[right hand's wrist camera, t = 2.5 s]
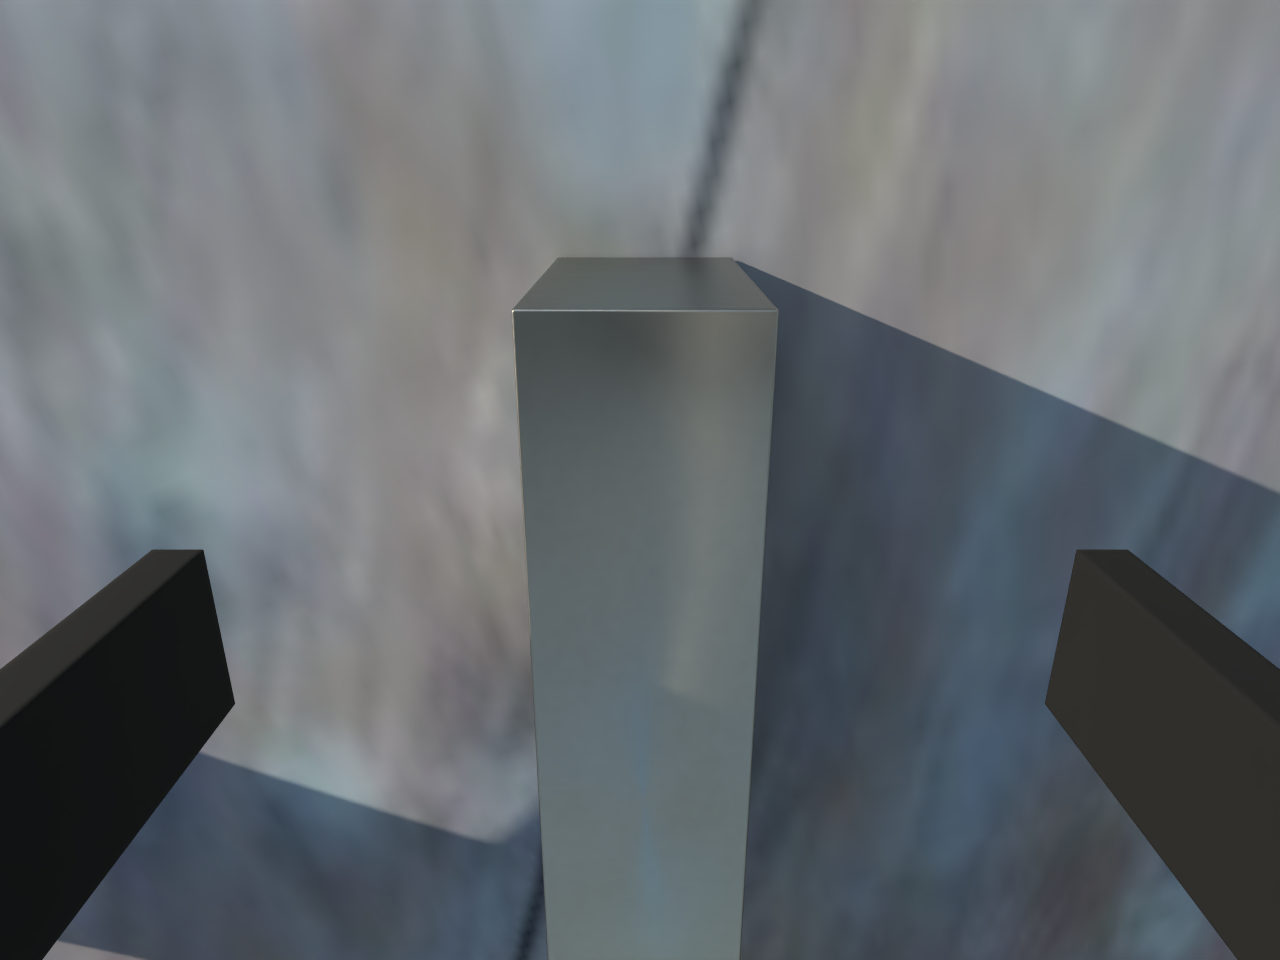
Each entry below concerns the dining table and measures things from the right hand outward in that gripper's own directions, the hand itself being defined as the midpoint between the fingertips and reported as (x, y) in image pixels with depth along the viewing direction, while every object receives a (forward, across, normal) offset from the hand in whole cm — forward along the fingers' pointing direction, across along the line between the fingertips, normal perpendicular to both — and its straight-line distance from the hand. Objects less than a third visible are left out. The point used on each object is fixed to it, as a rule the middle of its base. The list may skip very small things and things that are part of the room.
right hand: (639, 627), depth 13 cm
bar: (+14, 0, -8) cm, 16 cm away
